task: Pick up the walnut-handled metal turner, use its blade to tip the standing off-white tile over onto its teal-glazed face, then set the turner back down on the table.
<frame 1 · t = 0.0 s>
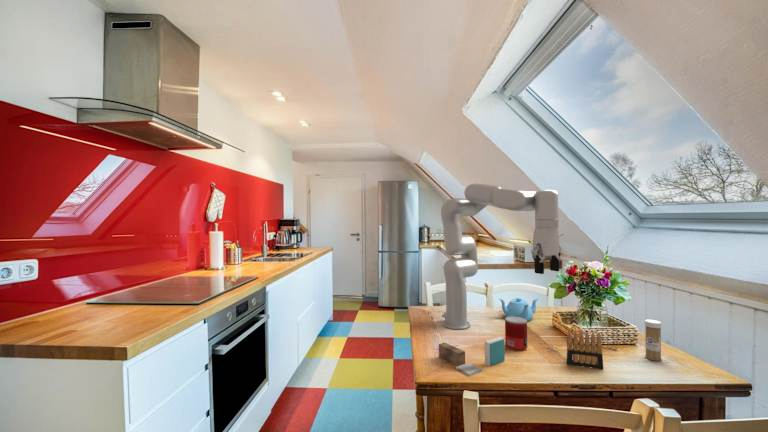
hand: (547, 272, 119), 31 cm above the table, tool pointing down, fingers open, 9 cm apart
teapot: (519, 319, 166), on the table
ammunition clip: (584, 366, 114), on the table
turner: (451, 361, 118), on the table
sprinkles bottle: (653, 359, 119), on the table
canned food: (516, 347, 130), on the table
tile: (494, 362, 117), on the table
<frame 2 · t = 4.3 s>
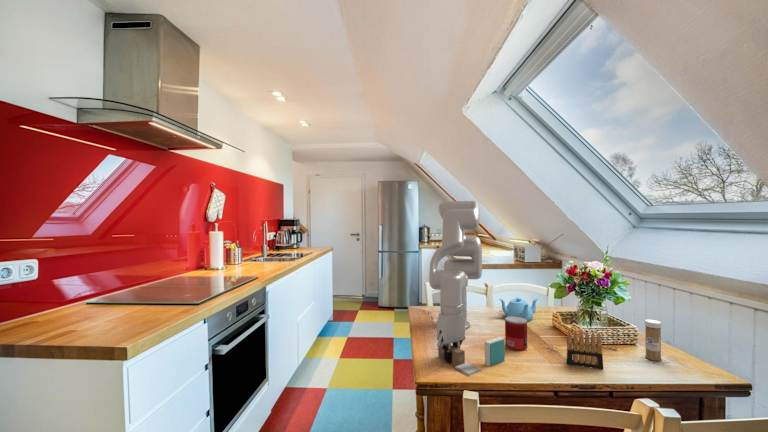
hand: (451, 360, 118), 0 cm above the table, tool pointing down, fingers closed on turner, 2 cm apart
turner: (451, 361, 118), on the table, touching gripper
everything else where it was.
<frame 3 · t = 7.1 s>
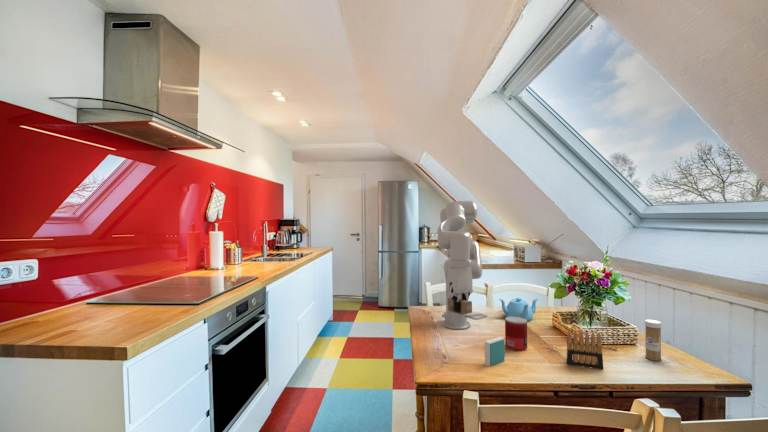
hand: (460, 310, 130), 15 cm above the table, tool pointing down, fingers closed on turner, 3 cm apart
turner: (459, 312, 130), point 14 cm above the table, touching gripper
everything else where it was.
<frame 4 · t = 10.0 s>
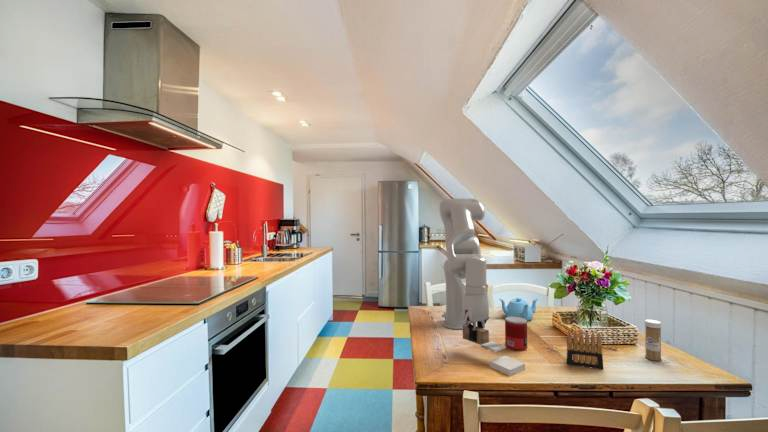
hand: (476, 338, 124), 6 cm above the table, tool pointing down, fingers closed on turner, 3 cm apart
turner: (475, 341, 124), point 5 cm above the table, touching gripper
tile: (497, 361, 116), point 1 cm above the table, tilted 90°
everything else where it was.
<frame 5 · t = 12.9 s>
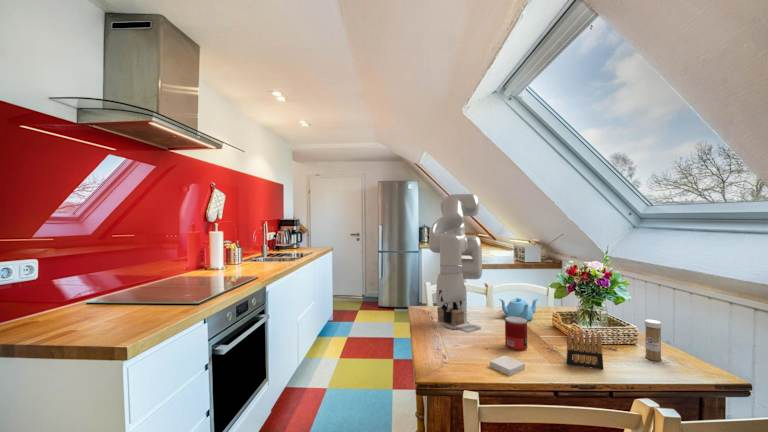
hand: (451, 320, 118), 14 cm above the table, tool pointing down, fingers closed on turner, 3 cm apart
turner: (450, 323, 118), point 13 cm above the table, touching gripper
everything else where it was.
when the fingers open (2 cm above the table, at t = 15.3 s): turner stays where it is, on the table.
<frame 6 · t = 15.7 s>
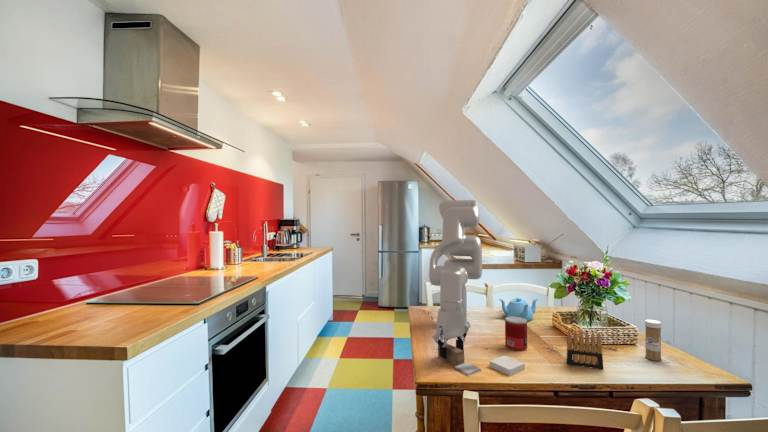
hand: (451, 354, 118), 3 cm above the table, tool pointing down, fingers open, 7 cm apart
turner: (450, 361, 118), on the table
everything else where it was.
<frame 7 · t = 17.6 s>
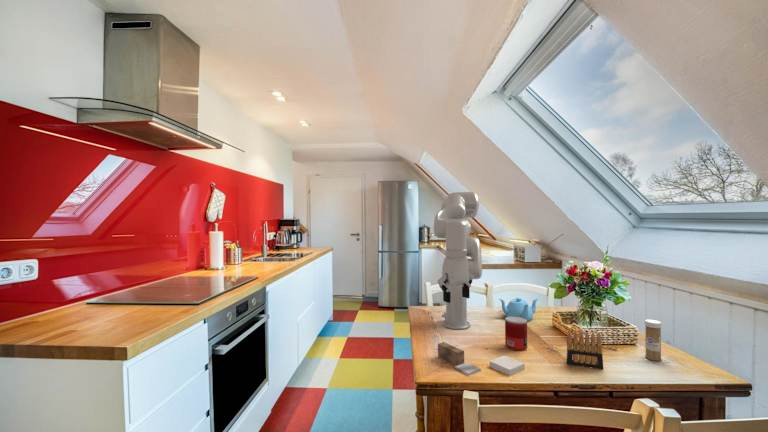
hand: (456, 299, 123), 21 cm above the table, tool pointing down, fingers open, 9 cm apart
nothing on the table moved.
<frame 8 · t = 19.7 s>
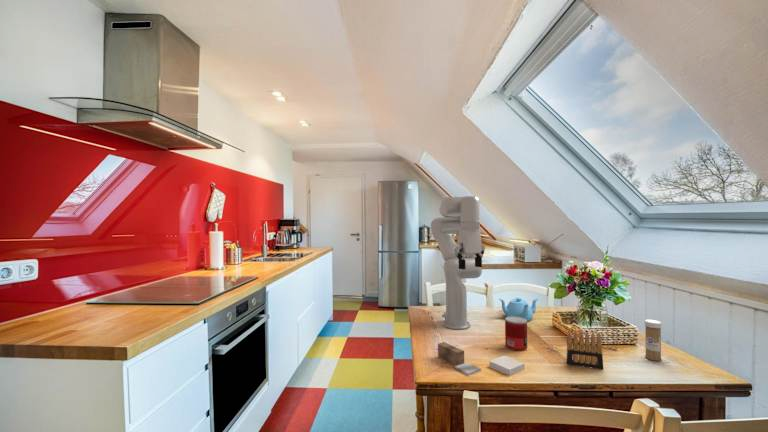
hand: (470, 267, 136), 30 cm above the table, tool pointing down, fingers open, 9 cm apart
nothing on the table moved.
at the end: tile tilted 90°; tile 1.4 cm from the target spot, point 0.9 cm above the table; turner inside the target area (0.5 cm from its centre), on the table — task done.
